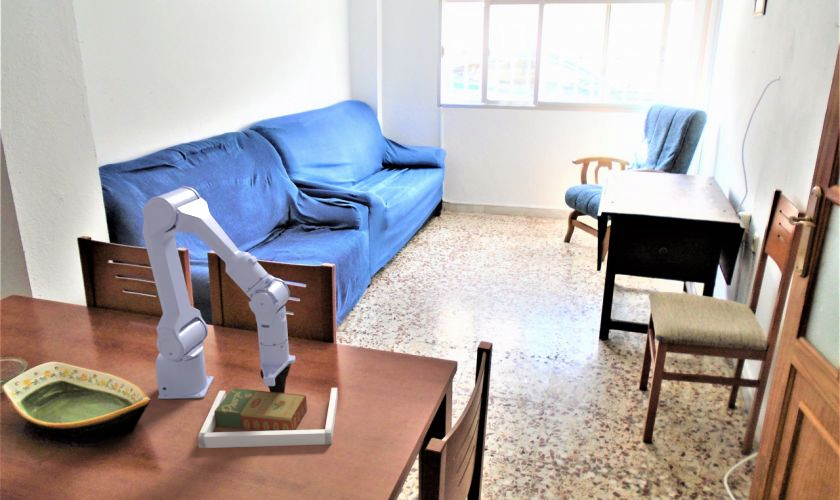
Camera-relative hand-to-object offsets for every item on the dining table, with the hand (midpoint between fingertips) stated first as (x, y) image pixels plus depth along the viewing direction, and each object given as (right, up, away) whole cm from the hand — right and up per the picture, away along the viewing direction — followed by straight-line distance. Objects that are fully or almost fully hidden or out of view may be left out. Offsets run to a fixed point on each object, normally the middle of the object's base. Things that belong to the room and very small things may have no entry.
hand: (278, 397), depth 122 cm
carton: (-2, -3, -5) cm, 6 cm away
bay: (0, -3, -5) cm, 6 cm away
